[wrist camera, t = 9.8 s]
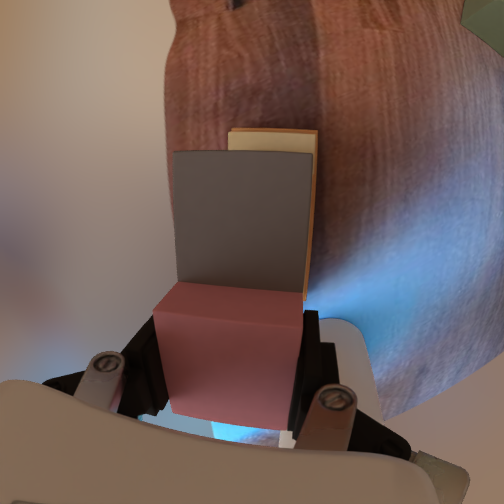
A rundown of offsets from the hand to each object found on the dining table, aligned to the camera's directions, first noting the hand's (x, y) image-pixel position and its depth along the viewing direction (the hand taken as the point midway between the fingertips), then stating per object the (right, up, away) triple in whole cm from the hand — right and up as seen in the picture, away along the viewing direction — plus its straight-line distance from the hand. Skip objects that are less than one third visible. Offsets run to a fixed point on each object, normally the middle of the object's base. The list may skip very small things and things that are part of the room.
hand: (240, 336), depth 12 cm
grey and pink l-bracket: (0, +2, 0) cm, 2 cm away
